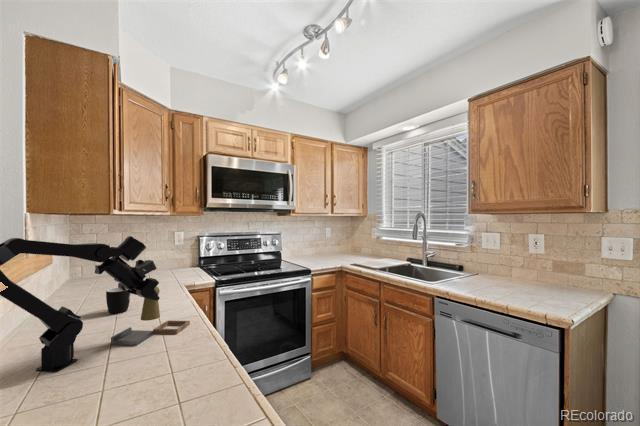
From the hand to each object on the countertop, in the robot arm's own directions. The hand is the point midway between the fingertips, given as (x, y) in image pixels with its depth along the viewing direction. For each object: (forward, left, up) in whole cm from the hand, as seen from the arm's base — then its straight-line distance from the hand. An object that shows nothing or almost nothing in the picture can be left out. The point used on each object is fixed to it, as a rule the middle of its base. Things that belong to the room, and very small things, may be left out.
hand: (154, 298), depth 104 cm
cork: (-1, +1, -7) cm, 7 cm away
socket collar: (+5, -4, -13) cm, 14 cm away
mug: (+24, +33, -13) cm, 43 cm away
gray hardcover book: (-5, +4, -13) cm, 14 cm away
